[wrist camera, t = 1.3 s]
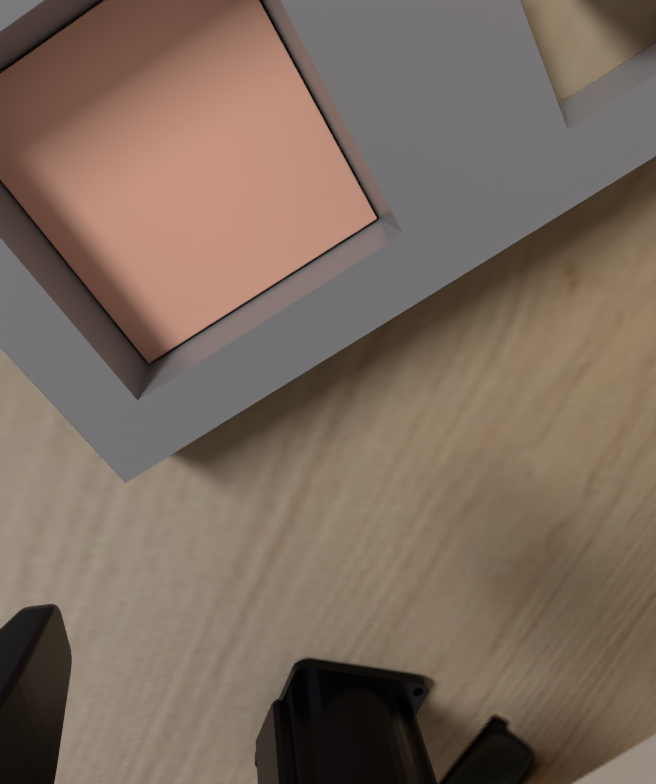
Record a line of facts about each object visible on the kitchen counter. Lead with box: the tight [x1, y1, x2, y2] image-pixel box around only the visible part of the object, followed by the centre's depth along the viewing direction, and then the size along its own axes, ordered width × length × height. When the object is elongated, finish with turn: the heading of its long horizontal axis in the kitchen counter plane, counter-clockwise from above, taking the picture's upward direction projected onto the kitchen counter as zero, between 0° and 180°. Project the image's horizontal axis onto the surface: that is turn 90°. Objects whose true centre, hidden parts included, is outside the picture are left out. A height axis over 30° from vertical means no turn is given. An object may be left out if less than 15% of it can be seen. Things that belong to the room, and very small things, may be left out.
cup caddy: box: [0, 0, 656, 483], centre depth 17 cm, size 27×13×3 cm, turn 121°
